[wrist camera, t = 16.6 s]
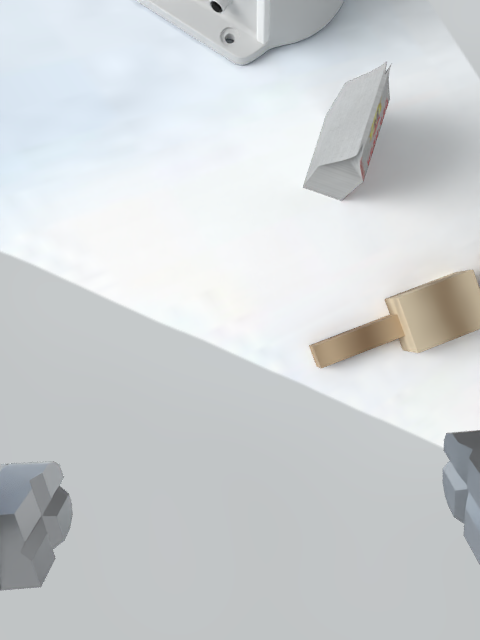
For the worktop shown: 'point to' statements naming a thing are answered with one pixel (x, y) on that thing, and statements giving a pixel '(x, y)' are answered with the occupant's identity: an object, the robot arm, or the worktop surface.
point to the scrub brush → (412, 320)
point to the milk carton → (349, 135)
